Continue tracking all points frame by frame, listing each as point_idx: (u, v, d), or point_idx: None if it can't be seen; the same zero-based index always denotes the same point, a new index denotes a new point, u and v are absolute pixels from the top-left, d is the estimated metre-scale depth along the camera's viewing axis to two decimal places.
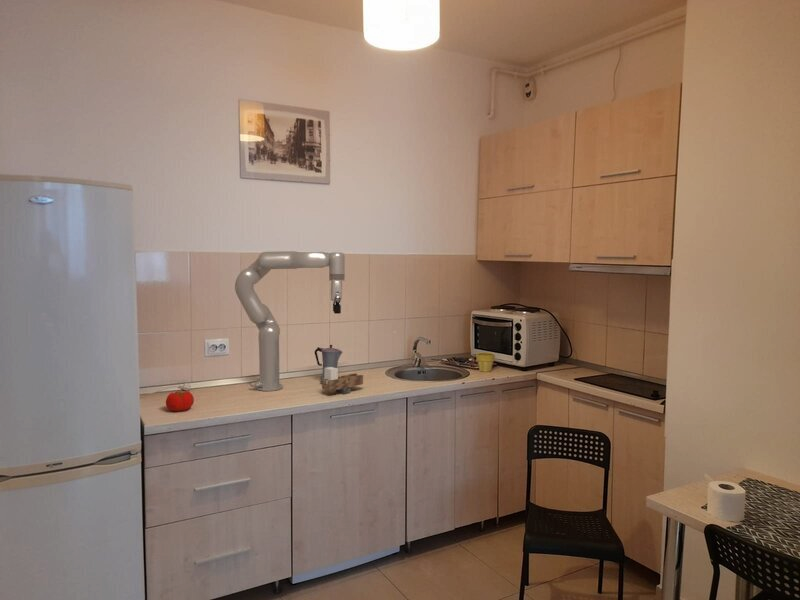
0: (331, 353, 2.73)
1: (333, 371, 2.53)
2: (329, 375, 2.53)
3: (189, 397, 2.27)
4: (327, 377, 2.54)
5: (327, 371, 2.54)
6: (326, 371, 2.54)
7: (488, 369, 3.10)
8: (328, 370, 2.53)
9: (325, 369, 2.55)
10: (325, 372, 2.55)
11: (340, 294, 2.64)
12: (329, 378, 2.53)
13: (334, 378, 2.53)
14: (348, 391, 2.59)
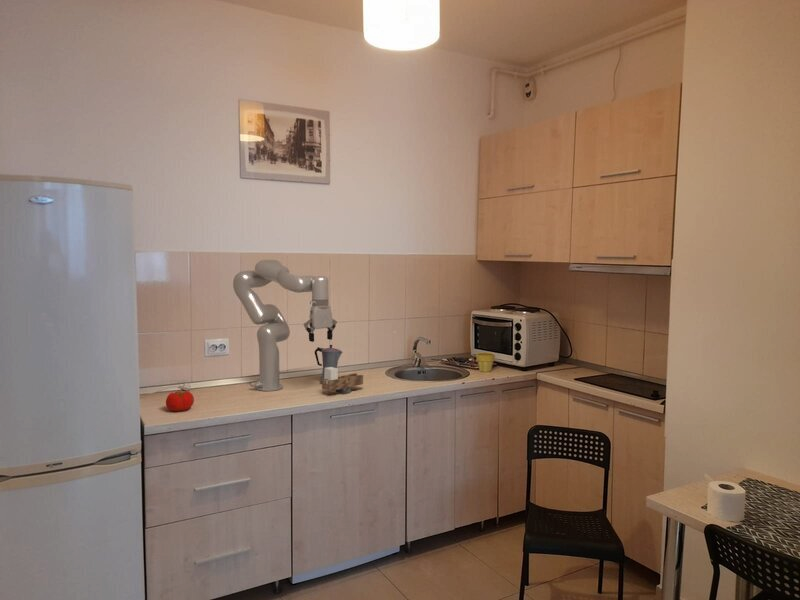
0: (331, 353, 2.73)
1: (333, 371, 2.53)
2: (329, 375, 2.53)
3: (189, 397, 2.27)
4: (327, 377, 2.54)
5: (327, 371, 2.54)
6: (326, 371, 2.54)
7: (488, 369, 3.10)
8: (328, 370, 2.53)
9: (325, 369, 2.55)
10: (325, 372, 2.55)
11: None
12: (329, 378, 2.53)
13: (334, 378, 2.53)
14: (348, 391, 2.59)
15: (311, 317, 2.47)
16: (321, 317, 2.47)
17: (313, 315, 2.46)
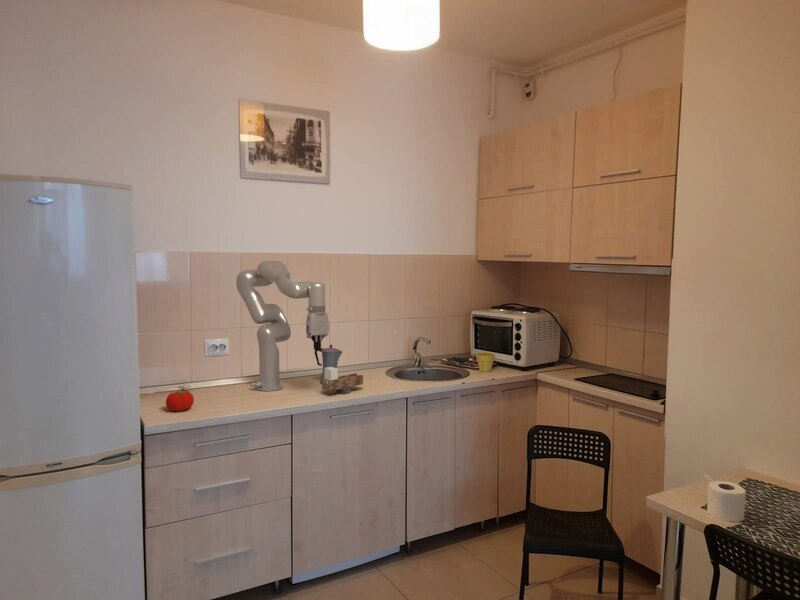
0: (331, 353, 2.73)
1: (333, 371, 2.53)
2: (329, 375, 2.53)
3: (189, 397, 2.27)
4: (327, 377, 2.54)
5: (327, 371, 2.54)
6: (326, 371, 2.54)
7: (488, 369, 3.10)
8: (328, 370, 2.53)
9: (325, 369, 2.55)
10: (325, 372, 2.55)
11: None
12: (329, 378, 2.53)
13: (334, 378, 2.53)
14: (348, 391, 2.59)
15: (308, 324, 2.44)
16: (318, 324, 2.45)
17: (310, 322, 2.43)
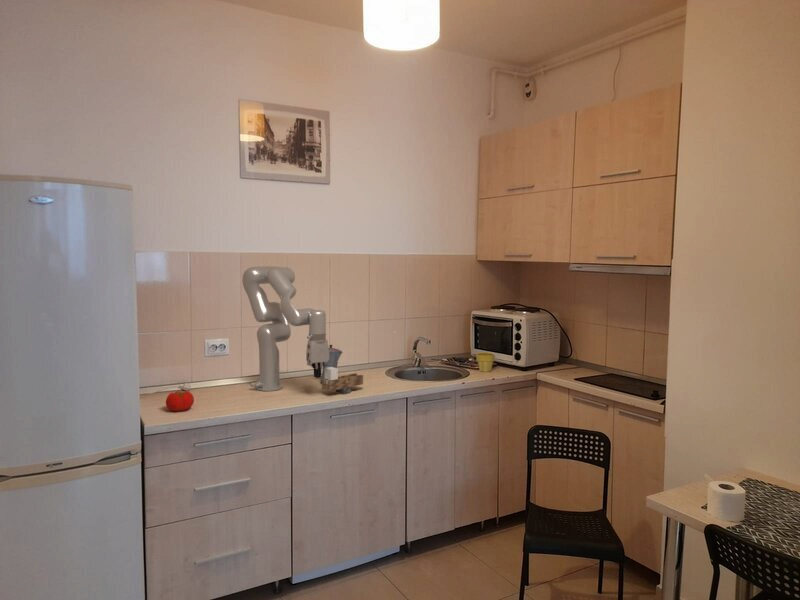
0: (331, 353, 2.73)
1: (333, 371, 2.53)
2: (329, 375, 2.53)
3: (189, 397, 2.27)
4: (327, 377, 2.54)
5: (327, 371, 2.54)
6: (326, 371, 2.54)
7: (488, 369, 3.10)
8: (328, 370, 2.53)
9: (325, 369, 2.55)
10: (325, 372, 2.55)
11: None
12: (329, 378, 2.53)
13: (334, 378, 2.53)
14: (348, 391, 2.59)
15: (308, 351, 2.45)
16: (318, 351, 2.46)
17: (310, 350, 2.44)
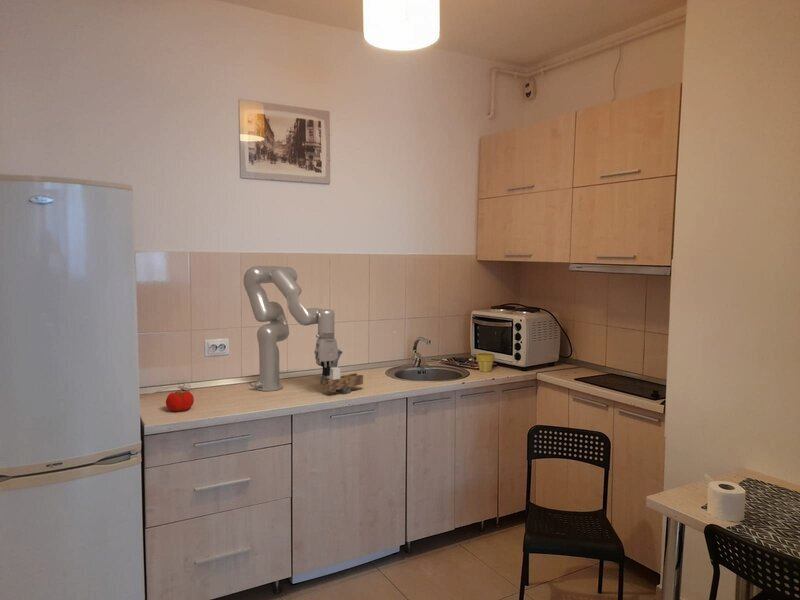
0: None
1: (335, 371, 2.54)
2: (331, 375, 2.54)
3: (189, 397, 2.27)
4: (329, 377, 2.55)
5: None
6: None
7: (488, 369, 3.10)
8: (330, 370, 2.54)
9: None
10: None
11: None
12: (331, 378, 2.54)
13: (336, 378, 2.54)
14: (348, 391, 2.59)
15: (317, 350, 2.48)
16: (327, 350, 2.49)
17: (319, 348, 2.47)
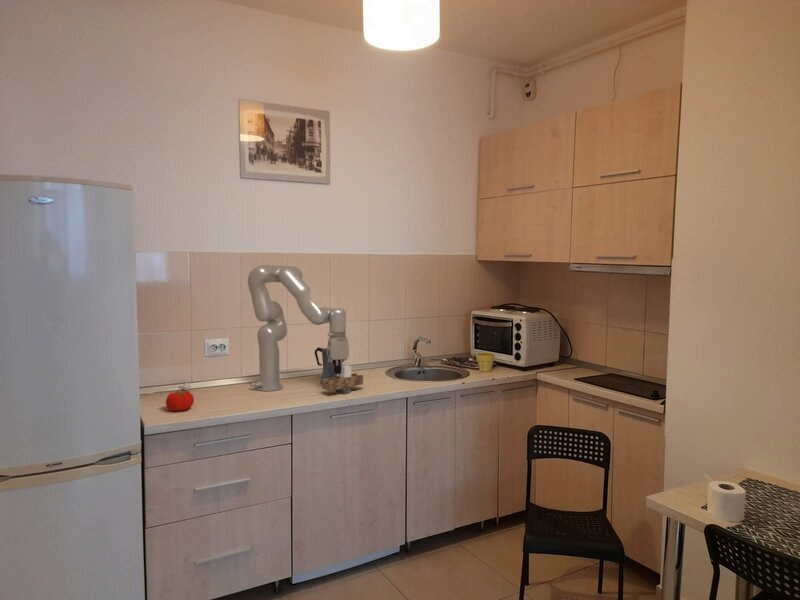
0: None
1: (347, 369, 2.58)
2: (343, 373, 2.58)
3: (189, 397, 2.27)
4: (341, 375, 2.59)
5: (341, 369, 2.59)
6: None
7: (488, 369, 3.10)
8: (342, 368, 2.58)
9: None
10: None
11: None
12: (343, 376, 2.58)
13: (348, 376, 2.59)
14: (348, 391, 2.59)
15: (329, 349, 2.53)
16: (339, 348, 2.54)
17: (331, 347, 2.52)
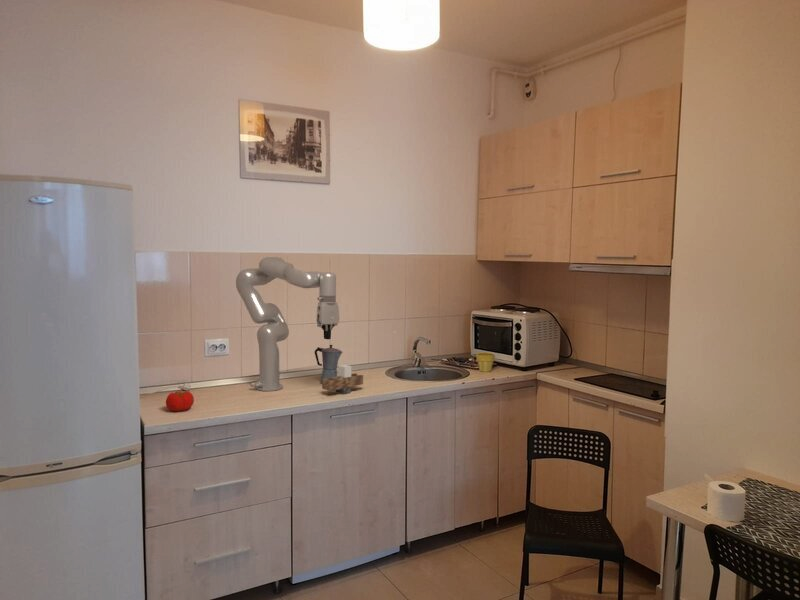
0: (332, 353, 2.73)
1: (347, 369, 2.58)
2: (343, 373, 2.58)
3: (189, 397, 2.27)
4: (341, 375, 2.59)
5: (341, 369, 2.59)
6: (340, 368, 2.59)
7: (488, 369, 3.10)
8: (342, 368, 2.59)
9: (339, 367, 2.60)
10: (338, 370, 2.61)
11: None
12: (343, 375, 2.58)
13: (348, 375, 2.59)
14: (348, 391, 2.59)
15: (318, 313, 2.48)
16: (328, 313, 2.48)
17: (321, 311, 2.47)
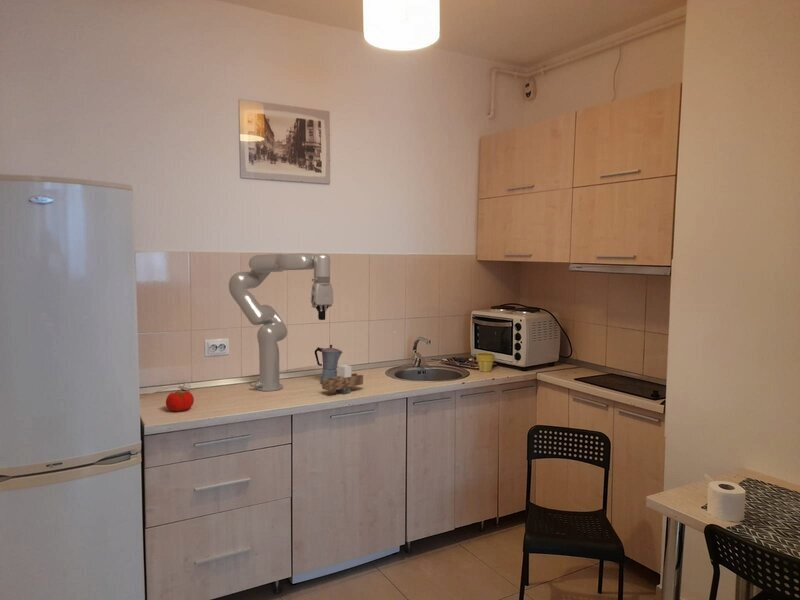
0: (331, 353, 2.73)
1: (347, 369, 2.58)
2: (343, 373, 2.58)
3: (189, 397, 2.27)
4: (341, 375, 2.59)
5: (341, 369, 2.59)
6: (340, 368, 2.59)
7: (488, 369, 3.10)
8: (342, 368, 2.59)
9: (339, 367, 2.60)
10: (338, 370, 2.61)
11: None
12: (343, 375, 2.58)
13: (348, 375, 2.59)
14: (348, 391, 2.59)
15: (313, 294, 2.52)
16: (323, 294, 2.53)
17: (315, 292, 2.51)
